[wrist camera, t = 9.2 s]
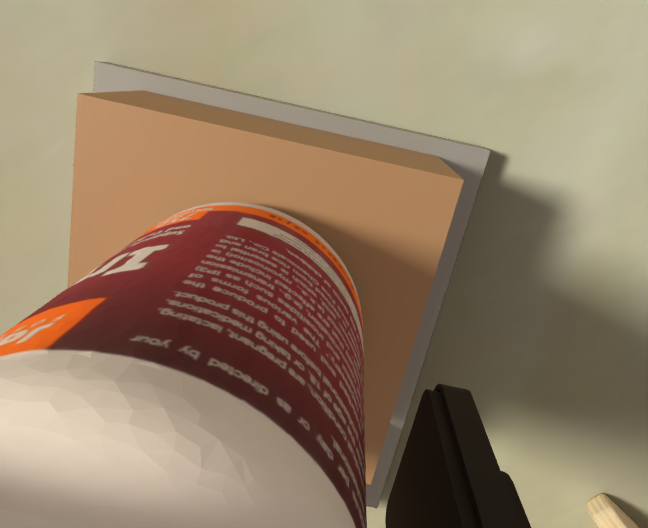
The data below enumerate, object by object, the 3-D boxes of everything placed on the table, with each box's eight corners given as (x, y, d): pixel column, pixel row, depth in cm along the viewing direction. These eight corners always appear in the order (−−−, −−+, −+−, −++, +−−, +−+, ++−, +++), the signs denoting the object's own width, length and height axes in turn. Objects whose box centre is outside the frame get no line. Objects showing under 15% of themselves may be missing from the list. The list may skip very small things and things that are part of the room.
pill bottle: (190, 145, 12) (-786, 499, 2) (411, 282, 13) (648, 1091, 3) (84, 346, 14) (-693, 1100, 4) (283, 455, 15) (115, 1332, 4)
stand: (106, 62, 16) (12, 55, 12) (484, 147, 16) (534, 173, 12) (81, 431, 21) (7, 528, 16) (376, 492, 21) (383, 605, 17)
